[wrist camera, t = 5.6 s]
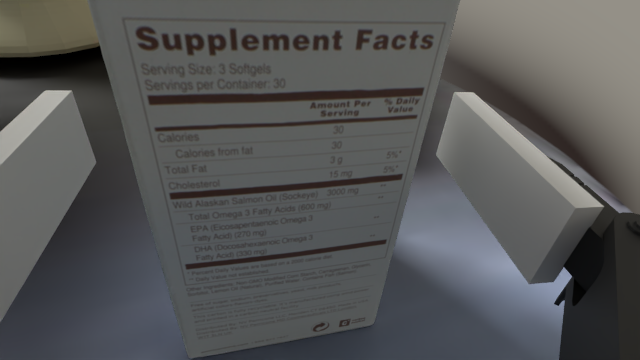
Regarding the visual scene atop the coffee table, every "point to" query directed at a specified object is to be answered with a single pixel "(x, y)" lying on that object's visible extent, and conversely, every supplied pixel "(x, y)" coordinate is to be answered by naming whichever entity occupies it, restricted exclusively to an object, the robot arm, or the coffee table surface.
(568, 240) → the robot arm
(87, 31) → the handbell
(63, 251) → the coffee table surface
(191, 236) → the supplement box
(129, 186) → the coffee table surface
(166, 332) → the coffee table surface
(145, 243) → the coffee table surface
